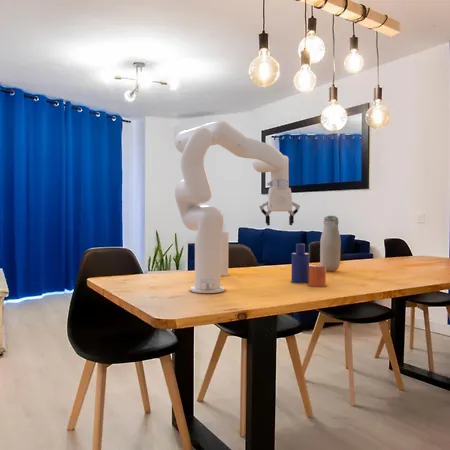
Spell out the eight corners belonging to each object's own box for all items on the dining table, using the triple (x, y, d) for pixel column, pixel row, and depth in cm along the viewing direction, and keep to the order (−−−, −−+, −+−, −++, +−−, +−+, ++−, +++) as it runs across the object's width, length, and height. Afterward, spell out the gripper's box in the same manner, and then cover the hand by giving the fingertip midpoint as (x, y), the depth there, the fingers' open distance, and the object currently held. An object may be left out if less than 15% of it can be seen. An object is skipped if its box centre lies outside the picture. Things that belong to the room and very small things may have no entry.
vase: (230, 275, 204) (230, 232, 203) (215, 275, 201) (215, 232, 201) (222, 272, 214) (222, 231, 214) (208, 272, 212) (208, 231, 212)
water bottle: (310, 283, 181) (310, 244, 181) (293, 283, 181) (293, 244, 181) (306, 280, 189) (307, 243, 188) (290, 280, 188) (290, 243, 188)
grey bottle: (319, 272, 216) (319, 215, 215) (321, 269, 226) (321, 215, 225) (339, 273, 213) (340, 215, 212) (340, 270, 223) (341, 215, 222)
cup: (327, 286, 173) (327, 266, 173) (310, 286, 173) (310, 266, 172) (323, 284, 180) (323, 264, 179) (306, 284, 179) (307, 264, 179)
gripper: (260, 184, 181) (260, 225, 181) (301, 184, 182) (301, 225, 182) (258, 185, 188) (258, 225, 189) (297, 185, 189) (297, 224, 190)
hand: (279, 225), depth 186 cm, fingers open, 9 cm apart
